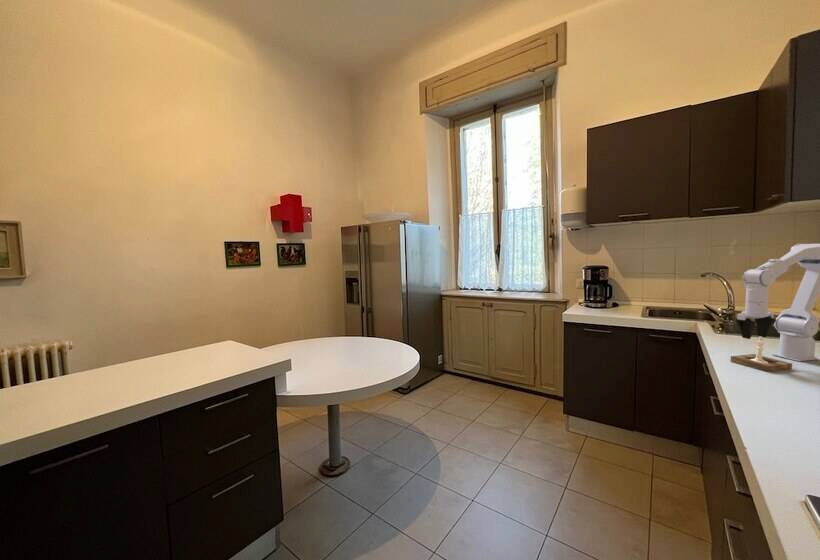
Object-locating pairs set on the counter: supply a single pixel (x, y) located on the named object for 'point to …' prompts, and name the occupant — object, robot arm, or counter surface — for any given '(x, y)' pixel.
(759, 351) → the chess piece
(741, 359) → the socket board
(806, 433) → the counter surface
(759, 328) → the robot arm
